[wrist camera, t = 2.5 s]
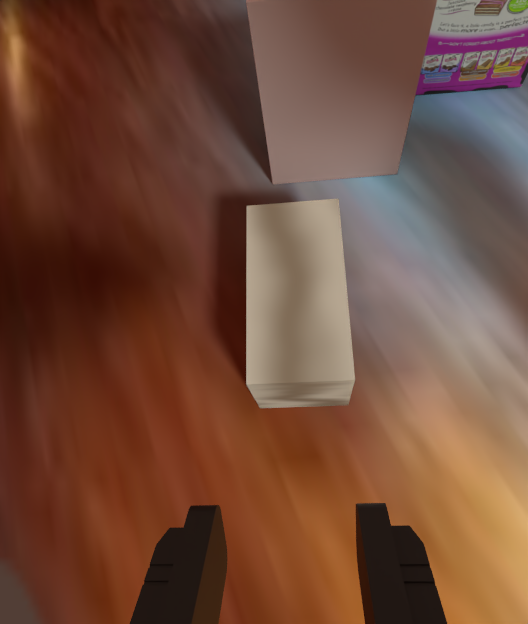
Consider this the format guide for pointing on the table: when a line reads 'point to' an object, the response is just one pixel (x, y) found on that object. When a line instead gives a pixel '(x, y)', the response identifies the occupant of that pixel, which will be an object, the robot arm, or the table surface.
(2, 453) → the table surface
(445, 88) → the candy bar box
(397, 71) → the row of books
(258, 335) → the beige rectangular block
